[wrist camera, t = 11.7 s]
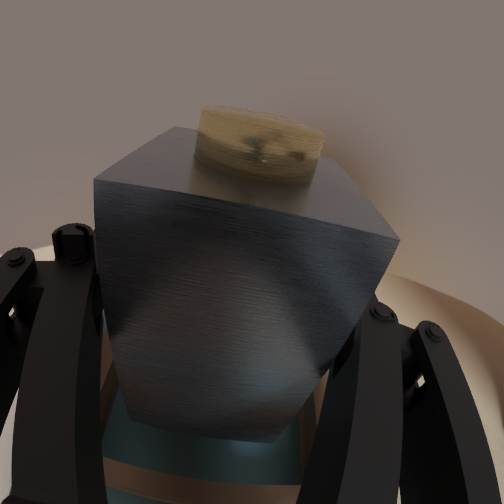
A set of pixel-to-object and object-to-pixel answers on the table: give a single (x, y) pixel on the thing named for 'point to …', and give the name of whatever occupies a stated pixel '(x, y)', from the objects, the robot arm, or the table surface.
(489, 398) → the table surface
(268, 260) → the grey block with knob
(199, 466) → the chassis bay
